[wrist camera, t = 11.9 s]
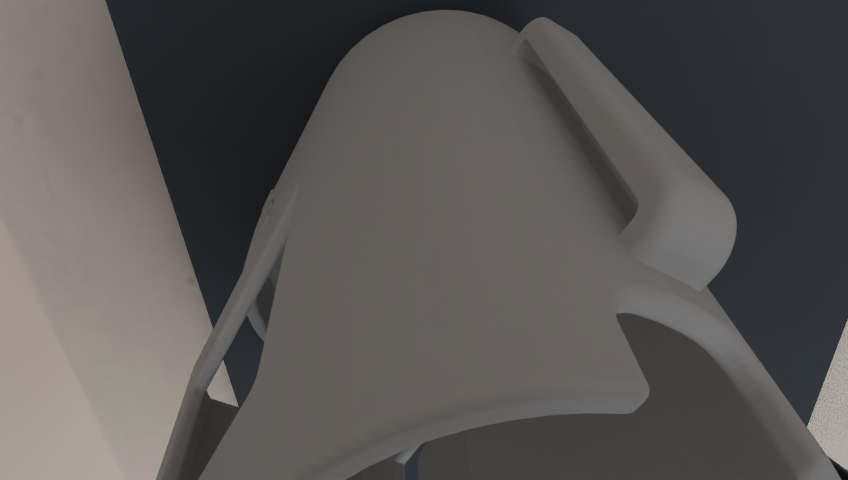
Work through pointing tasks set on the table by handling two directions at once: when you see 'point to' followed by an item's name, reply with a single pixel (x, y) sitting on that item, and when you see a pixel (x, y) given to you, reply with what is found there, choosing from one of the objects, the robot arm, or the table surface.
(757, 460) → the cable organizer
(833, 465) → the robot arm
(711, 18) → the mat
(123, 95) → the table surface
